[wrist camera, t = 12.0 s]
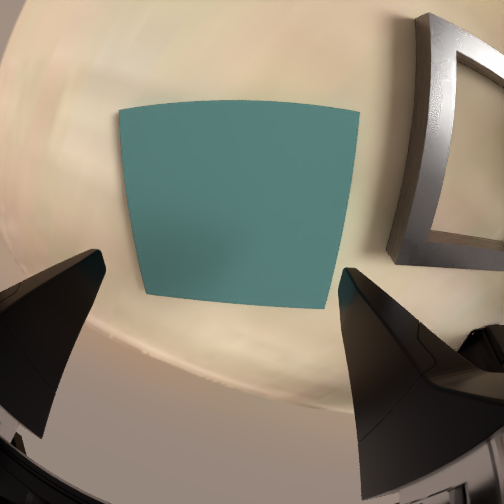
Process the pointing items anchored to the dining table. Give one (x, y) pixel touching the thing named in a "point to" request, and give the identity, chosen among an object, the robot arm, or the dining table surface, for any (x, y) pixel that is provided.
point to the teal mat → (238, 198)
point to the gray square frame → (439, 150)
